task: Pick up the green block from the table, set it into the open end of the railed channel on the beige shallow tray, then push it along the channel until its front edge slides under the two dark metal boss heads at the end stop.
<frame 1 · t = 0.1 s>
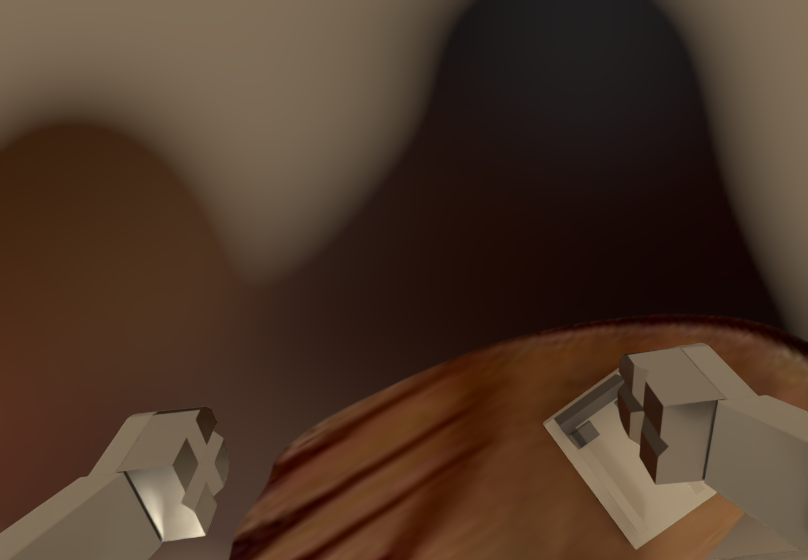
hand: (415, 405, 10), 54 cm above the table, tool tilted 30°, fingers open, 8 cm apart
beige shallow tray: (626, 454, 63), on the table
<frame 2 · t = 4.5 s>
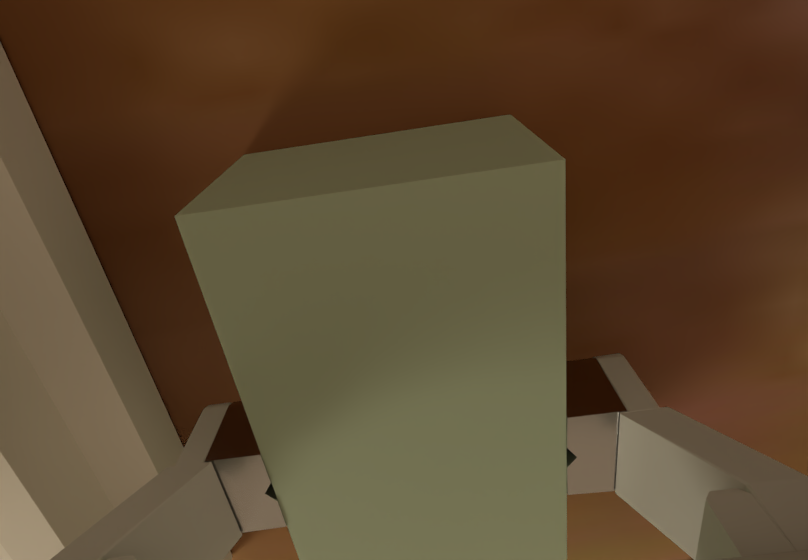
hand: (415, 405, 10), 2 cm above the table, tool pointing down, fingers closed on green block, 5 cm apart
green block: (412, 353, 12), on the table, touching gripper
when the fingers open (4 cm above the table, at t = 8.9 s): green block stays where it is, resting on beige shallow tray.
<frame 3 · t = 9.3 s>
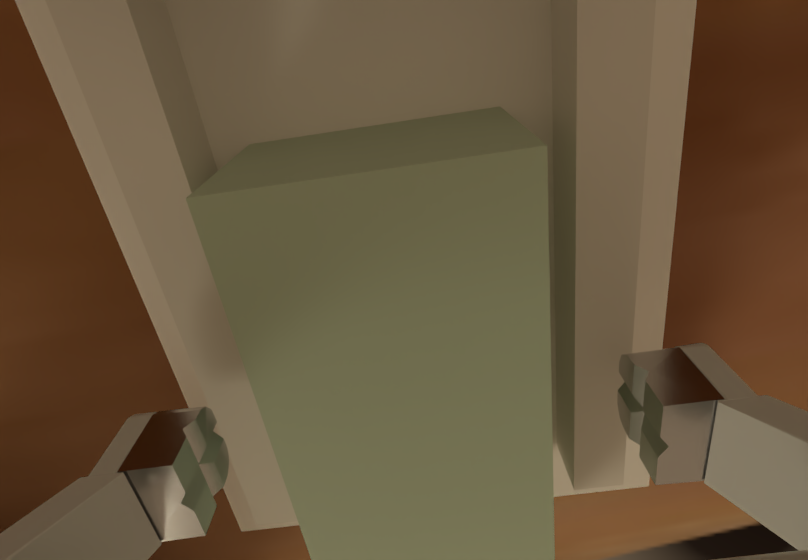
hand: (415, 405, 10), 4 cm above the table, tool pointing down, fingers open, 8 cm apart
green block: (408, 337, 12), point 1 cm above the table, touching beige shallow tray
beige shallow tray: (394, 204, 12), on the table
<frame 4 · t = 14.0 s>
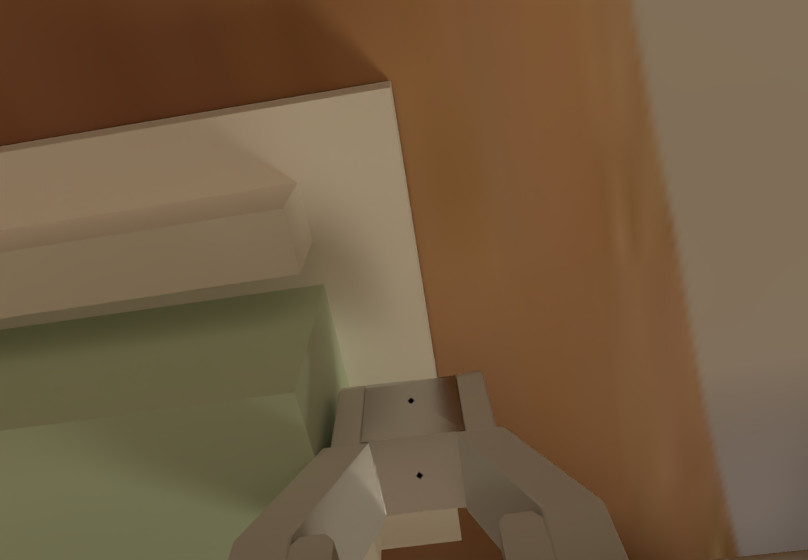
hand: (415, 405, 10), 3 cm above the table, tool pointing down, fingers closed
green block: (137, 407, 12), point 1 cm above the table, touching gripper
beige shallow tray: (83, 385, 13), on the table
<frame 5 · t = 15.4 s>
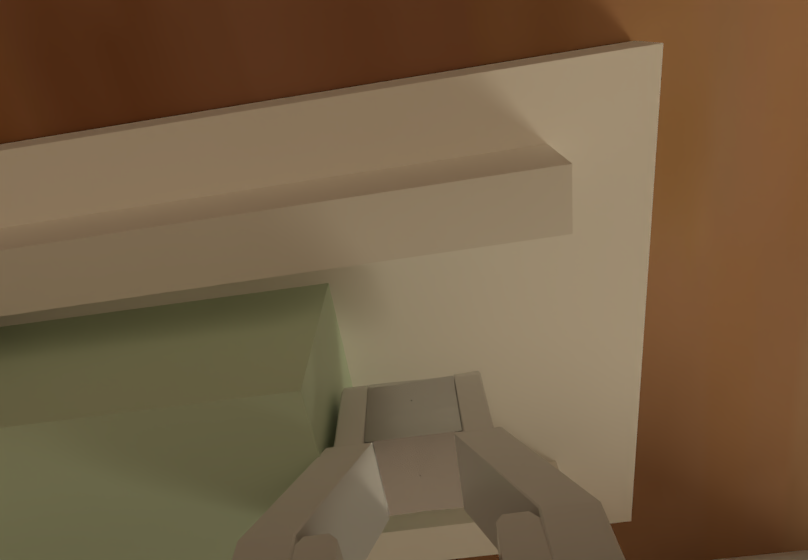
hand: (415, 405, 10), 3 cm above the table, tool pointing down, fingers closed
green block: (140, 405, 12), point 1 cm above the table, touching beige shallow tray, gripper
beige shallow tray: (260, 359, 13), on the table
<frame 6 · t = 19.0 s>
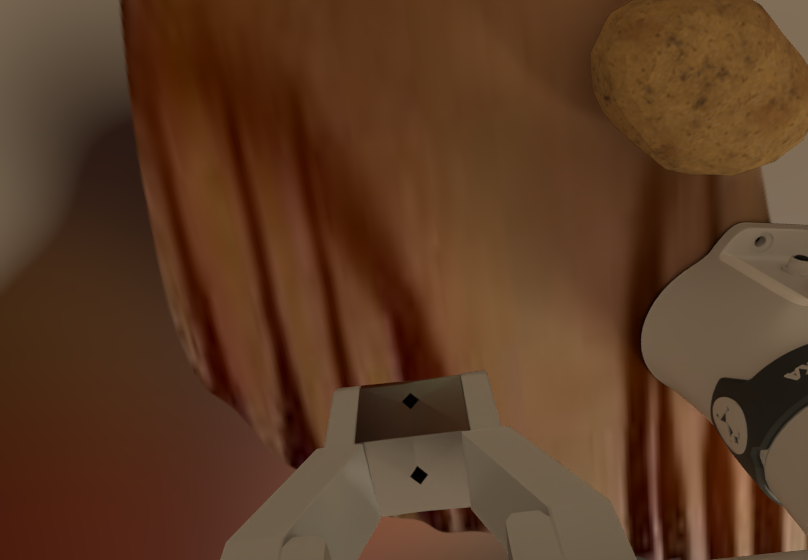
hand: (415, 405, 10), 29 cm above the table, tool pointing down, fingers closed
potato: (659, 76, 35), on the table
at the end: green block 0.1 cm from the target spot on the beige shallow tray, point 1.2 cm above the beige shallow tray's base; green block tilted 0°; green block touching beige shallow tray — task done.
